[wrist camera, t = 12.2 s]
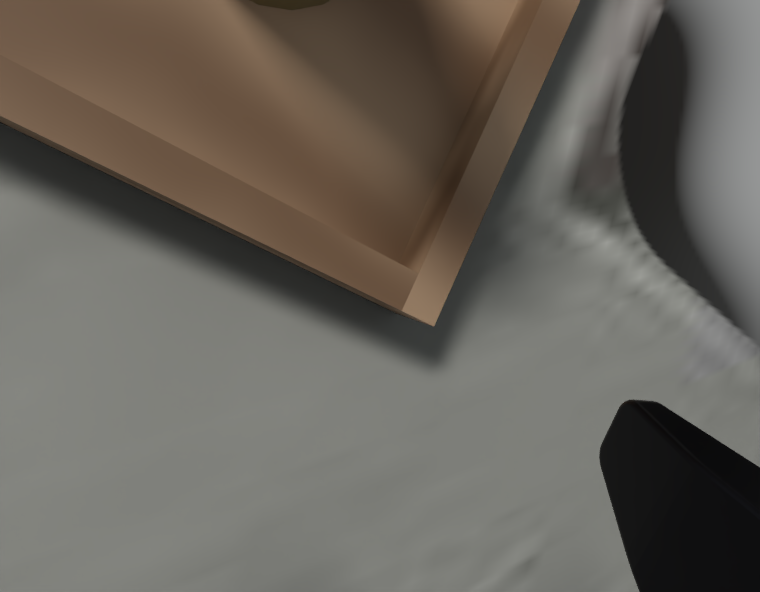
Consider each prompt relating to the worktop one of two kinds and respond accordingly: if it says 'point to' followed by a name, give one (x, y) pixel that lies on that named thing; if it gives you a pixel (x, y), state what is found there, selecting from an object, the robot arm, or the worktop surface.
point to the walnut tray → (295, 119)
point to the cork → (290, 3)
